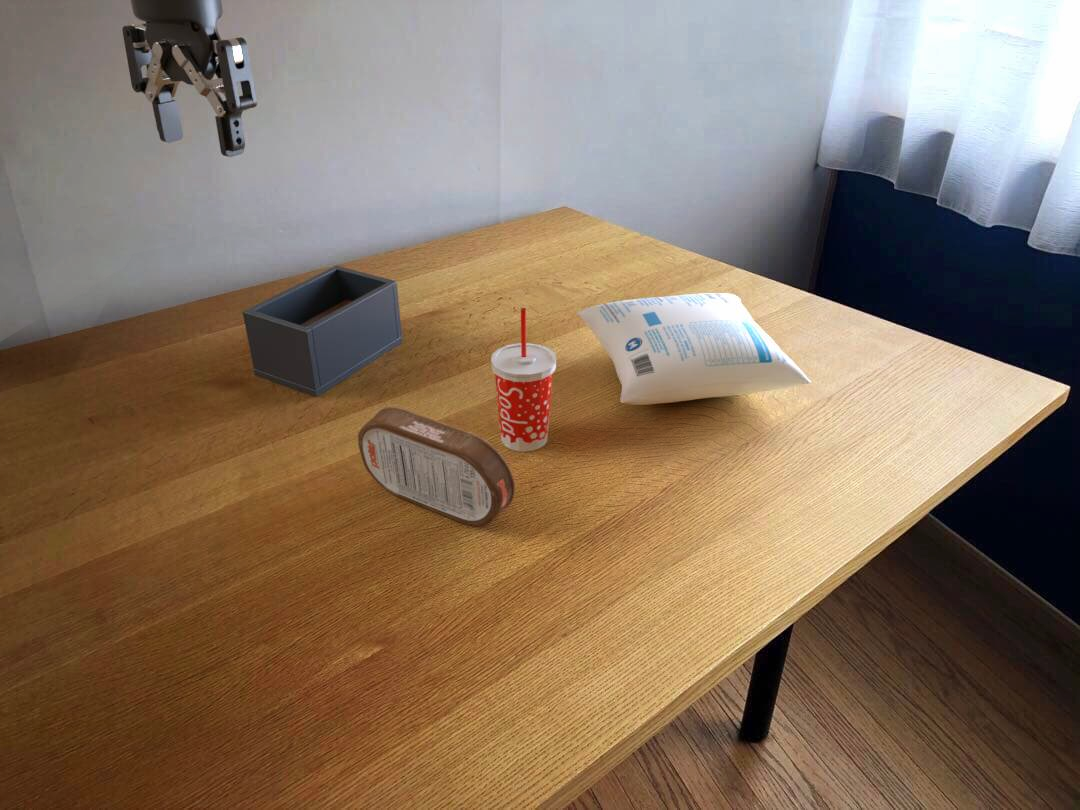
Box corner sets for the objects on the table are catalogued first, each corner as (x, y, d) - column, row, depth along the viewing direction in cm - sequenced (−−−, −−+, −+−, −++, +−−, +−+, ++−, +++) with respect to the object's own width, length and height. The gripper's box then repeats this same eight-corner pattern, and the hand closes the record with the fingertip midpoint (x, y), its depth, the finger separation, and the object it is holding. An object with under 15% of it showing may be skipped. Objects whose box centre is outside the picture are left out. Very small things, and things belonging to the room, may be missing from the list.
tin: (517, 523, 74) (516, 442, 69) (497, 544, 71) (495, 461, 67) (380, 469, 80) (371, 392, 76) (357, 487, 78) (347, 408, 73)
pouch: (621, 364, 81) (818, 338, 84) (575, 287, 98) (741, 268, 101) (620, 434, 85) (808, 408, 88) (576, 350, 102) (736, 330, 105)
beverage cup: (481, 433, 85) (476, 304, 78) (533, 415, 88) (533, 289, 81) (514, 463, 81) (512, 330, 74) (567, 443, 84) (570, 313, 76)
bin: (316, 397, 91) (306, 331, 87) (254, 375, 95) (241, 311, 91) (402, 342, 102) (397, 281, 98) (343, 324, 106) (336, 265, 101)
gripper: (261, -37, 74) (284, 151, 83) (151, -49, 80) (183, 128, 89) (190, -32, 69) (223, 169, 77) (78, -45, 75) (120, 144, 83)
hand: (202, 147), depth 83 cm, fingers open, 8 cm apart
